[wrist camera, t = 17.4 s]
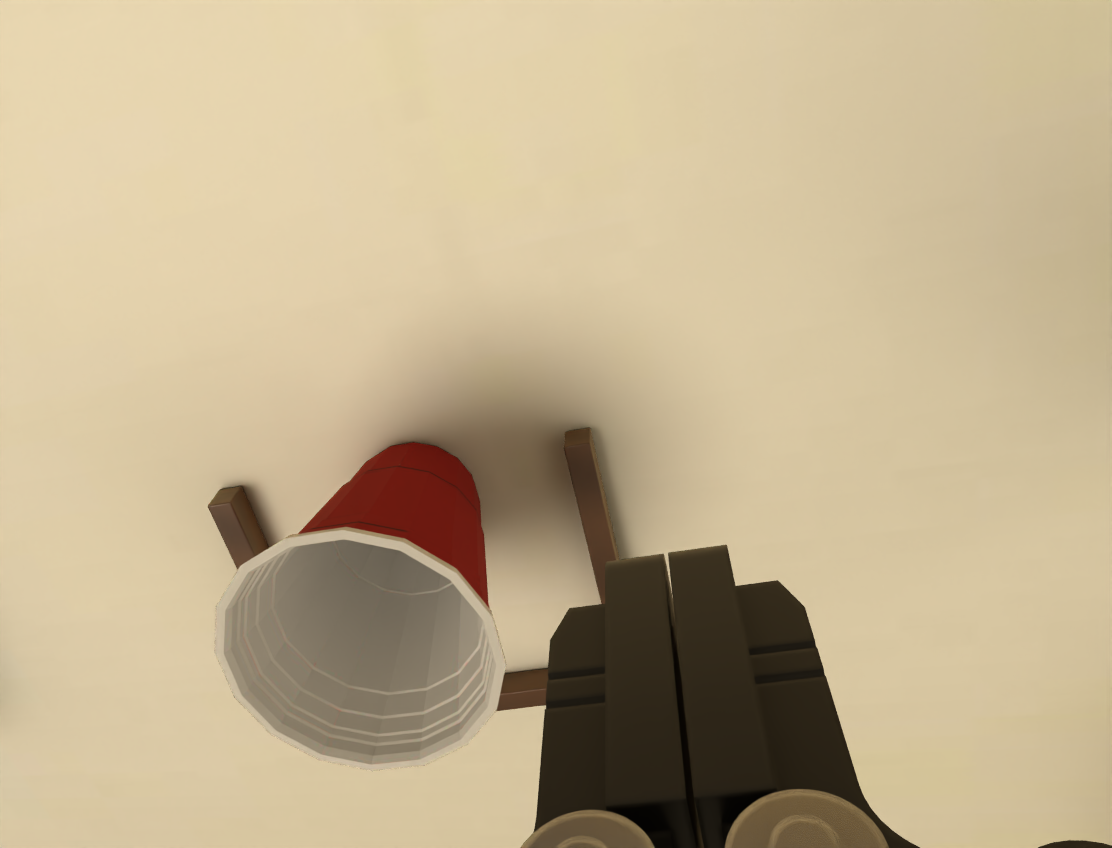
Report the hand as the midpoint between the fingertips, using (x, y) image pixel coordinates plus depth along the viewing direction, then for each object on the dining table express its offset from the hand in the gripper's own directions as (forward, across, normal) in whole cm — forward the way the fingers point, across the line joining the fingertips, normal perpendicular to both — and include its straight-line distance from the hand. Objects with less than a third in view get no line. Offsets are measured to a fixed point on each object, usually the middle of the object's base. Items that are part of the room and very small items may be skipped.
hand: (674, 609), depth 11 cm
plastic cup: (+27, +12, +13) cm, 33 cm away
